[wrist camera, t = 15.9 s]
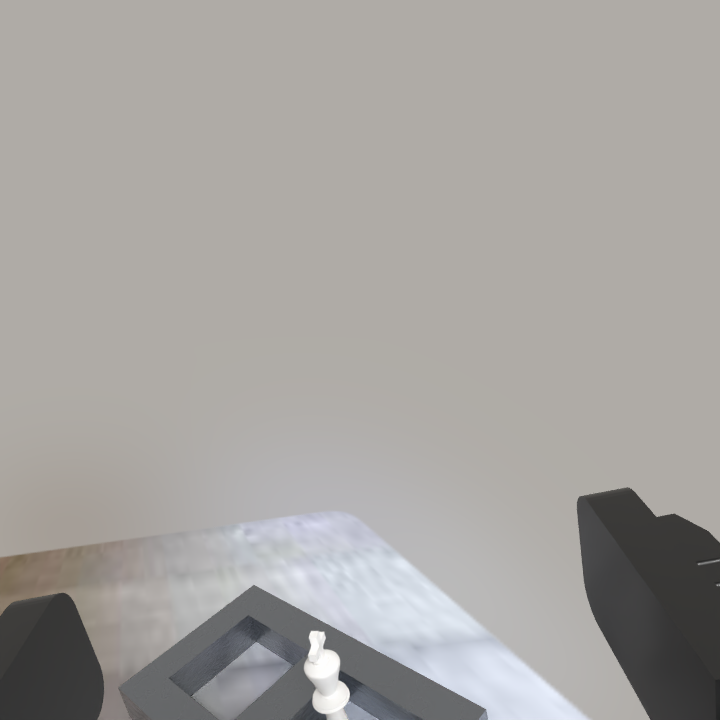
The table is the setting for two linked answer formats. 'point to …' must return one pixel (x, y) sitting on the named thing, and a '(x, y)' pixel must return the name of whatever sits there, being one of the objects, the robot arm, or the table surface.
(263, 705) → the grey two-window frame
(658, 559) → the robot arm
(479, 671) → the table surface
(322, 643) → the chess piece
